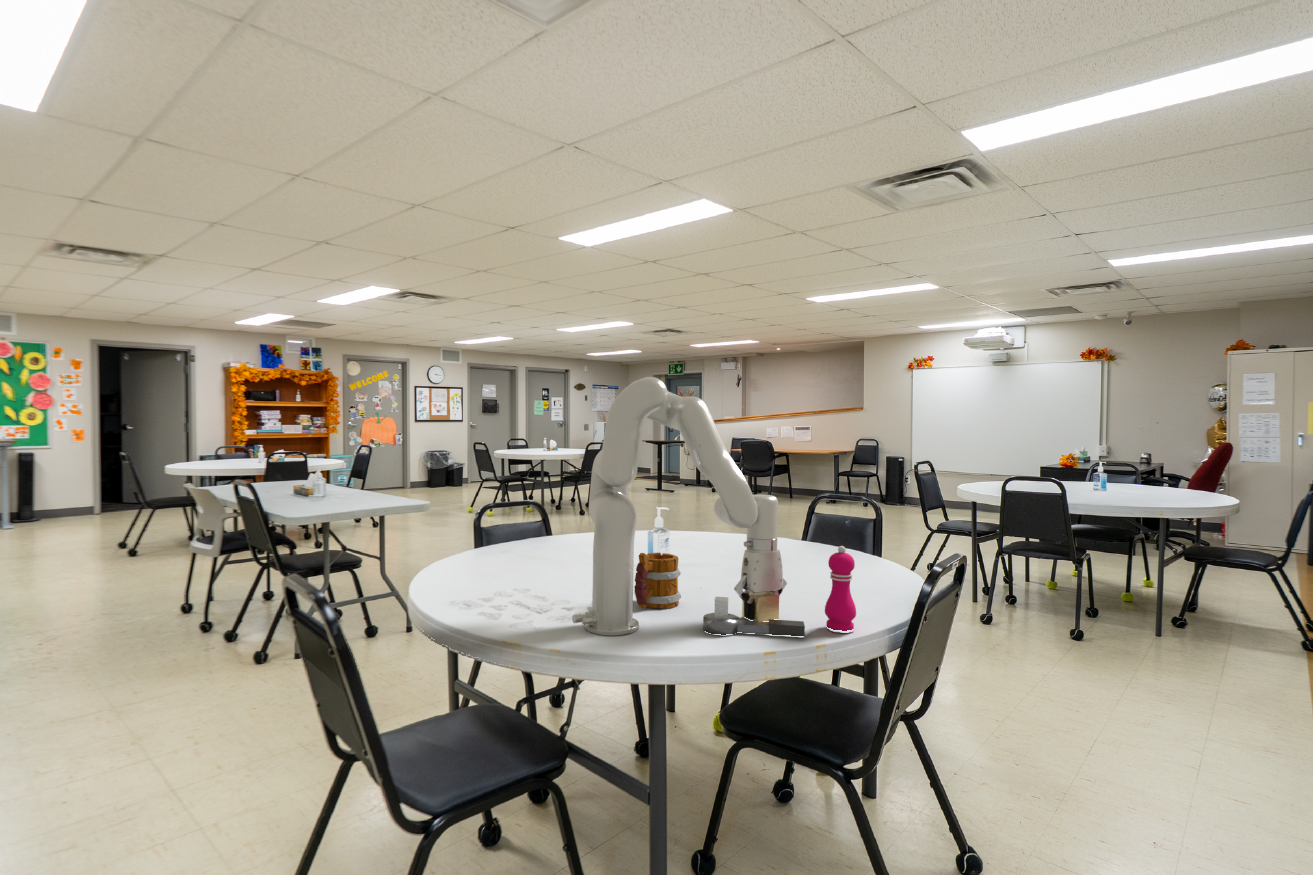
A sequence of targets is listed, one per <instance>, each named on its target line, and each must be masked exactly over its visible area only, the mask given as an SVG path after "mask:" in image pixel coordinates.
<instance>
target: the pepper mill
mask: <svg viewBox="0 0 1313 875" xmlns="http://www.w3.org/2000/svg"><path fill="white" fill-rule="evenodd" d="M827 563H828V567H829V569H830V570H831V572H830V575H829V578H830V579H831V581H832V582H831V584H832V585H831V591H830V594H829V596H828V598H827V599H826V600H827V601H826V603H825V606H824V614H825V616H826V617H827V618H828V619H827V620H826V626H827V627H828V628H831V629H833V630H842V631H847V630H852V629H854V628H855V624H854V622H853V620H854V619H855V618H856V617H857V608H856V603H855V601H854V600H853V597H852V594H851V581H852V580H853V574H852V571H853V570H854V569H855V566H856V565H855V560H854V557H853V556H852V555H850V554H849V553H847V552H846V547H845V546H844V545H840V546H838V548H837V552H834V553H832V554H831V555H830V556H829V558H828V562H827ZM854 630H855V629H854Z"/></svg>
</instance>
